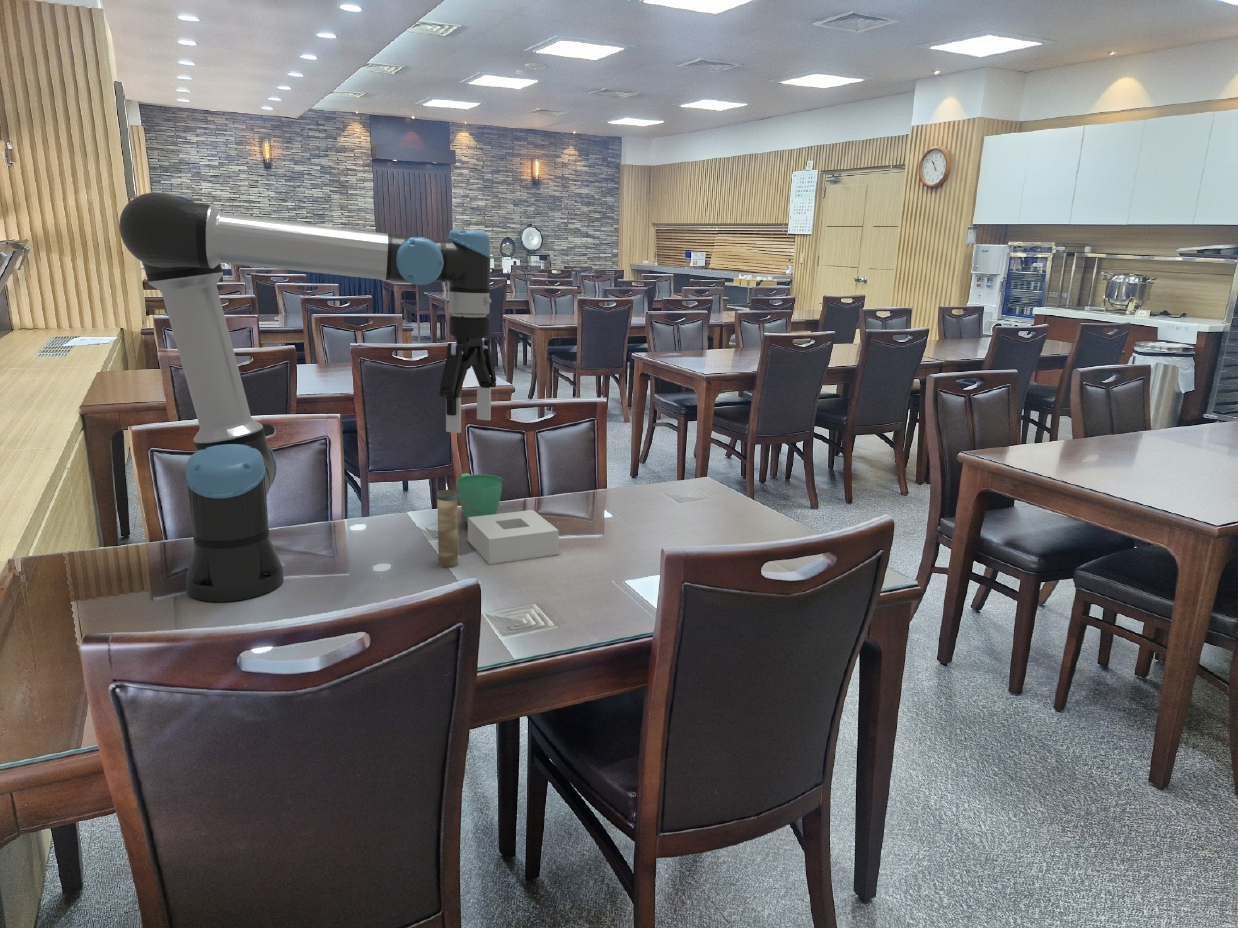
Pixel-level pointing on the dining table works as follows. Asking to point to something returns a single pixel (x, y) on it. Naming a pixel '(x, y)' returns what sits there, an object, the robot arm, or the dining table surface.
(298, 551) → the dining table surface
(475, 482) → the mug
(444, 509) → the peg
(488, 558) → the socket block
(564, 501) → the dining table surface
